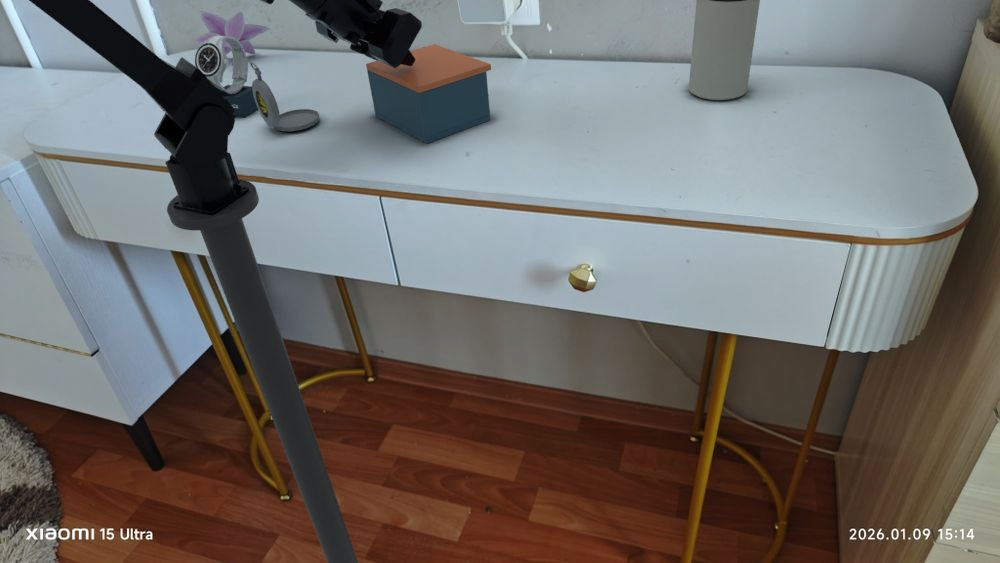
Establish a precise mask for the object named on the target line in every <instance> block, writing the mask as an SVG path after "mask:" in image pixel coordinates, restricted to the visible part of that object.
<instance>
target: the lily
mask: <svg viewBox="0 0 1000 563" xmlns="http://www.w3.org/2000/svg"><path fill="white" fill-rule="evenodd" d="M198 15H199V18H200V20H201V21H202V23H203V25H204V26H205V28H206V30H207V31H208V32H206V33H203V34H202V35H199V36H197V37H196V38H194V39H193V41H192V42H193V43H195V44H196V43H197V44H203V43H204V42H205V40H206V41H207V39H209V38H210V37H212V36H231V37H234V38H236V39H237V40H238V41H239V42H240V43H241V44H242V46H243V48H244V50H245V53H247V54H249V55H252V56H256V51H255V48H254V46H253V45H252V43H251V42H250V41H251V40H252V39H254V38H256V37H258V36H261V35H262V34H264V33H267V32H268V31H270V30H271V29H270V27H269V26H265V25H263V24H262V25H261V24H257V23H245V16H244V12H242V11H239V12H237V13H235V14H234V15H232V16H231V17H230V18H228V19H226V18H224V17H223V16H220V15H217V14H215V13H212V12H208V11H199V12H198ZM223 42H224V49H225V53H226V56H227V55H228V54H230V53H232V58H233V57H234V55H233V50H232V48H231V46H230V45H229V43H227V42H226V41H225V40H223Z"/></svg>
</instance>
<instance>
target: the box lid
mask: <svg viewBox="0 0 1000 563" xmlns="http://www.w3.org/2000/svg"><path fill="white" fill-rule="evenodd" d="M409 51H410V52H411V53H412V55H413V56H414V58H415V62H414V64H413V65H412V66H407V65H402V64H400V66H398V67H397V68H393V67H391V66H388V65H386V64H384V63H382V62H381V61H379V60H378V61H377V60H375V61H371V62H367V63H366V64H365V65H366V66H365V67H366V71H367V70H369V71H372V72H374V73H376V74H378V75H380V76H382V77H385V78H387V79H389V80H391V81H393V82H396V83H398V84H400V85H402V86H404V87H407V88H409V89H411V90H413V91H415V92H418V93H422V92H425V91H428V90H431V89H434V88H437V87H440V86H443V85H446V84H449V83H452V82H455V81H459V80H462V79H465V78H468V77H471V76H474V75H477V74H480V73H483V72H486V73H487V72H489V71H491V70H492V64H491V63H488V62H486V61H482V60H480V59H477V58H474V57H472V56H469V55H467V54H463V53H462V52H458V51H456V50H453V49H450V48H447V47H444V46H441V45H438V44H436V43H433V44H430V45H427V46H426V45H425V46H422V47H419V48H416V49H413V50H409Z"/></svg>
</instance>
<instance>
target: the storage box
mask: <svg viewBox="0 0 1000 563" xmlns="http://www.w3.org/2000/svg"><path fill="white" fill-rule="evenodd" d="M366 72H367V78H368V82H369V88H370V93H371V98H372V99H371V100H372V104H373V109H374V115H375V117H376V118H378V119H380V120H381V121H384V122H386V123H387V124H389V125H390V126H393V127H394V128H397V129H399V130H400V131H401V132H404V133H406V134H408V135H410V136H411V137H413V138H416V139H417V140H418V141H421V142H422V143H424V144H429V143H432V142H433V143H434V142H435V141H438V140H440V139H443V138H446V137H449V136H452V135H454V134H457V133H459V132H463V131H464V130H467V129H470V128H472V127H475V126H478V125H480V124H483V123H486V122H489V121H491V111H490V97H489V88H488V87H489V85H488V74H487V71H486V72H483V73H480V74H477V75H474V76H471V77H468V78H465V79H462V80H459V81H455V82H452V83H449V84H446V85H443V86H440V87H437V88H434V89H431V90H428V91H425V92H422V93H418V92H415V91H413V90H411V89H409V88H407V87H404V86H402V85H400V84H398V83H396V82H393V81H391V80H389V79H387V78H385V77H382V76H380V75H378V74H376V73H374V72H372V71H369V70H367V69H366Z"/></svg>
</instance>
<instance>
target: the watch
mask: <svg viewBox="0 0 1000 563" xmlns="http://www.w3.org/2000/svg"><path fill="white" fill-rule="evenodd" d="M223 40H225V41H226V42H227V43H229V45H230V46H231V48H232V50H233V54H232V73H231V74H232V76H231V78H232V83H231V84H226V85H225V86H222V83H223V79H224V78H223V77H224V73H225V72H226V70H227V67H228V66H229V65H230V60H229V58H228V56H227V55H226V53H225V49H224V42H223ZM233 55H234V57H233ZM248 61H249V60H248V56H247V54H246V52H245V50H244V48H243V46H242V44H241V43H240V42H239V41H238V40H237V39H236V38H234V37H231V36H212V37H210V38H209V39H207V41H206V40H205V42H204V43H201V45H200V46H199V47H198V48H197V50H196V52H195V55H194V66H195V67H197V68H198V69H200V71H201V72H202V73H203V74H204V75H205V76H206V77H207V78H208V79H209V80H211V81H212V82H213V83H215V84H216V85H218V86H219V87H220V88H222V89H223V90H225V91H226V92H227V93H228V96H225V97H223V98H225V99H226V100H227V101H228V102H229V103H230V104H231V105H232V107H233V109H234V111H235V113H234V114H235V118H247V117H249V116H250V115H252V114H253V113H255V112H256V111H259V110H258V108H257V105H256V102H255V99H254V95H253V91H252V85H251V86H250V85H245V83H246V82H248V75H249V73H248V72H249V62H248Z"/></svg>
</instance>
